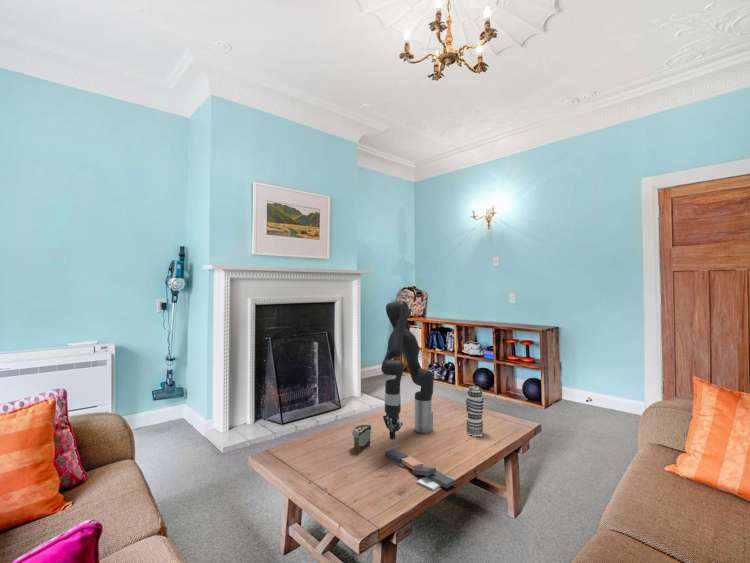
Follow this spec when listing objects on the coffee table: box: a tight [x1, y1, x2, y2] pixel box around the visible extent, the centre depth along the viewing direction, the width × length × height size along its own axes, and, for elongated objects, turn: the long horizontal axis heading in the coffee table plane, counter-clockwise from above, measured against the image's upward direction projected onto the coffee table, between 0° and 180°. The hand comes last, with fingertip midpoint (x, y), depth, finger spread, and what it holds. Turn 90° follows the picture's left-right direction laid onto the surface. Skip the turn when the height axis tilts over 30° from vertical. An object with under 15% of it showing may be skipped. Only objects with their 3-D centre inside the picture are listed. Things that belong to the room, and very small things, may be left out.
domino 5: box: [426, 470, 456, 489], centre depth 149 cm, size 5×2×10 cm
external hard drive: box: [416, 475, 450, 492], centre depth 150 cm, size 2×8×12 cm
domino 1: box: [385, 447, 409, 463], centre depth 170 cm, size 5×2×10 cm
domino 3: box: [401, 455, 424, 470], centre depth 162 cm, size 5×2×10 cm
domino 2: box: [389, 457, 409, 470], centre depth 166 cm, size 5×2×10 cm
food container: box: [351, 424, 372, 454], centre depth 180 cm, size 12×6×10 cm, turn 149°
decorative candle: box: [465, 385, 485, 437], centre depth 199 cm, size 9×9×25 cm
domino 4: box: [411, 466, 437, 476], centre depth 154 cm, size 5×2×10 cm
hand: (392, 438), depth 175 cm, fingers closed
